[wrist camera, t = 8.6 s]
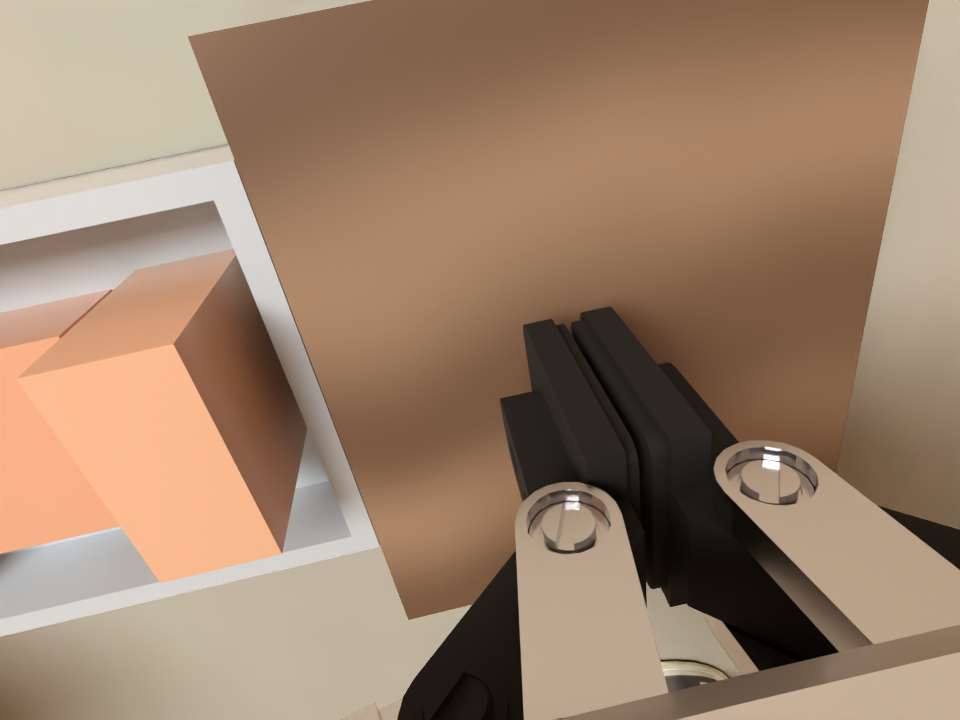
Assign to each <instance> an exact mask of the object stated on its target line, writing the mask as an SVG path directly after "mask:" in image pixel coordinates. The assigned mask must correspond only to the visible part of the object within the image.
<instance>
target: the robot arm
mask: <svg viewBox="0 0 960 720" xmlns="http://www.w3.org/2000/svg"><path fill="white" fill-rule="evenodd" d="M571 331H572V336H571V334H570V332H569V330H568V329H567V327H566V325H565V324H560V325H555V323H554V321H553V320H552V319H548V320H543V321H538V322H534V323H529V324H524V325H523V334H524V341H525V348H526V355H527V361H528V368H529V375H530V382H531V388H532V391H531V392H527V393H522V394H518V395H513V396H508V397H504V398H500V405H501V411H502V417H503V422H504V427H505V433H506V438H507V443H508V447H509V452H510V456H511V460H512V465H513V469H514V473H515V476H516V480H517V484H518V487H519V491H520V495H521V498H522V502H523V503H522V505H521V506H520V508H519V510H518V512H517V515H516V521H515V540H516V550H515V552H514V553H513V554H512V556H511V557H510V558H509V559H508V561H507V562H506V563H505V564H504V566H503V567H502V568H501V569H500V571H499V572H498V573H497V575H496V576H495V577H494V578H493V580H492V581H491V582H490V583H489V585H488V586H487V587H486V588H485V590H484V591H483V592H482V594H481V595H480V596H479V597H478V599H477V600H476V601H475V602H474V604H473V605H472V606H471V608H470V609H469V610H468V611H467V613H466V614H465V615H464V616H463V618H462V619H461V620H460V621H459V623H458V624H457V625H456V627H455V628H454V629H453V630H452V632H451V633H450V634H449V635H448V637H447V638H446V639H445V640H444V642H443V643H442V644H441V646H440V647H439V648H438V649H437V651H436V652H435V653H434V654H433V656H432V657H431V658H430V659H429V661H428V662H427V663H426V665H425V666H424V667H423V668H422V670H421V671H420V672H419V673H418V675H417V676H416V677H415V678H414V680H413V682H412V683H411V685H410V687H409V688H408V690H407V692H406V693H405V695H404V697H403V699H401V700H399V701H397V702H395V703H393V704H391V705H389V706H387V707H385V708H383V709H380V710H378V708H377V706H376V704H375V703H374V704H372V705H370V706H368V707H366V708H364V709H362V710H360V711H358V712H356V713H354V714H352V715H350V716H347V717H345V718H343V719H341V720H960V530H958V529H955V528H951V527H948V526H945V525H941V524H938V523H934V522H931V521H928V520H924V519H921V518H917V517H914V516H911V515H907V514H904V513H900V512H897V511H894V510H890V509H887V508H883V507H880V506H877V505H876V504H874V503H873V502H872V501H870V500H869V499H868V498H867V497H865V496H864V495H863V494H861V493H860V492H859V491H858V490H856V489H855V488H854V487H852V486H851V485H850V484H849V483H847V482H846V481H845V480H843V479H842V478H841V477H840V476H838V475H837V474H836V473H834V472H833V471H832V470H831V469H829V468H828V467H827V466H825V465H824V464H823V463H822V462H820V461H819V460H818V459H816V458H815V457H813V456H812V455H810V454H808V453H807V452H805V451H803V450H802V449H799V448H797V447H794V446H791V445H788V444H786V443H781V442H775V441H769V440H750V441H745V442H741V443H739V442H738V440H737V439H736V438H735V437H734V436H733V435H732V433H731V432H730V431H729V430H728V429H727V427H726V426H725V425H724V424H723V423H722V422H721V420H720V419H719V418H718V417H717V416H716V414H715V413H714V412H713V411H712V410H711V409H710V407H709V406H708V405H707V404H706V403H705V401H704V400H703V399H702V398H701V397H700V395H699V394H698V393H697V392H696V391H695V390H694V388H693V387H692V386H691V385H690V384H689V382H688V381H687V380H686V379H685V378H684V377H683V375H682V374H681V373H680V372H679V371H678V369H677V368H676V367H675V366H674V365H673V364H671V363H669V362H665V363H660V364H657V363H656V362H655V361H654V359H653V358H652V357H651V356H650V354H649V353H648V352H647V351H646V349H645V348H644V347H643V346H642V344H641V343H640V342H639V341H638V339H637V338H636V337H635V336H634V334H633V333H632V332H631V331H630V329H629V328H628V327H627V326H626V324H625V323H624V322H623V321H622V319H621V318H620V317H619V316H618V314H617V313H616V312H615V311H614V309H613V308H612V307H611V306H608V307H604V308H599V309H594V310H590V311H585V312H581V314H580V320H579V321H574V322H572V323H571ZM646 581H647V583H648V585H649V587H650V588H651V589H655V588H660V587H661V589H662V591H663V593H664V595H665V597H666V599H667V601H668V603H669V605H670V607H673V606H677V605H682V604H686V603H687V605H688V606H690V607H692V608H694V609H696V610H698V611H701V612H703V613H705V614H706V619H707V623H708V625H709V627H710V629H711V631H712V633H713V635H714V636H715V638H716V639H717V640H718V642H719V643H720V645H721V646H722V647H723V649H724V650H725V651H726V653H727V654H728V656H729V657H730V658H731V660H732V661H733V663H734V664H735V665H736V667H737V668H738V670H739V671H740V672H741V674H742V675H741V676H737V677H732V678H728V679H724V680H720V681H715V682H711V683H707V684H703V685H699V686H694V687H690V688H686V689H682V690H678V691H674V692H668V688H667V684H666V681H665V677H664V673H663V669H662V665H661V661H660V658H659V654H658V650H657V646H656V642H655V639H654V635H653V631H652V627H651V623H650V620H649V616H648V612H647V600H646Z"/></svg>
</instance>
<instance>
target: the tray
mask: <svg viewBox="0 0 960 720" xmlns="http://www.w3.org/2000/svg"><path fill="white" fill-rule="evenodd" d="M229 249H234V251H235V253H236V256H237V258H238V260H239V263H240V265H241V268H242V270H243V273H244V275H245V278H246V280H247V282H248V285H249V287H250V290H251V292H252V295H253V297H254V299H255V302H256V304H257V307H258V309H259V312H260V314H261V316H262V319H263V321H264V324H265V326H266V329H267V331H268V333H269V336H270V338H271V341H272V343H273V346H274V348H275V351H276V353H277V355H278V358H279V360H280V363H281V365H282V368H283V370H284V372H285V375H286V377H287V380H288V382H289V385H290V387H291V389H292V392H293V394H294V397H295V399H296V402H297V404H298V407H299V409H300V411H301V414H302V416H303V419H304V421H305V424H306V426H307V433H306V438H305V443H304V448H303V453H302V458H301V463H300V468H299V473H298V478H297V483H296V488H295V493H294V498H293V503H292V508H291V513H290V517H289V522H288V527H287V532H286V537H285V542H284V547H283V552H282V554H281V555H277V556H272V557H268V558H264V559H260V560H256V561H252V562H247V563H243V564H239V565H235V566H231V567H226V568H222V569H218V570H214V571H210V572H205V573H201V574H197V575H193V576H189V577H184V578H180V579H176V580H172V581H168V582H163V583H160V582H159V581H158V579H157V578H156V576H155V575H154V573H153V572H152V571H151V569H150V568H149V566H148V565H147V564H146V562H145V561H144V559H143V558H142V556H141V555H140V554H139V552H138V551H137V549H136V548H135V547H134V545H133V544H132V542H131V541H130V539H129V538H128V537H127V535H126V534H125V532H124V531H123V530H122V528H121V527H120V526H119V527H115V528H110V529H106V530H102V531H97V532H93V533H89V534H84V535H80V536H76V537H71V538H67V539H63V540H58V541H54V542H50V543H45V544H41V545H37V546H32V547H28V548H24V549H19V550H15V551H11V552H6V553H2V554H0V637H1V636H5V635H10V634H14V633H18V632H22V631H27V630H31V629H35V628H39V627H43V626H48V625H52V624H56V623H60V622H65V621H69V620H73V619H77V618H81V617H86V616H90V615H94V614H98V613H102V612H107V611H111V610H115V609H119V608H124V607H128V606H132V605H136V604H140V603H145V602H149V601H153V600H157V599H162V598H166V597H170V596H174V595H178V594H183V593H187V592H191V591H195V590H199V589H204V588H208V587H212V586H216V585H221V584H225V583H229V582H233V581H237V580H242V579H246V578H250V577H254V576H258V575H263V574H267V573H271V572H275V571H280V570H284V569H288V568H292V567H296V566H301V565H305V564H309V563H313V562H318V561H322V560H326V559H330V558H334V557H339V556H343V555H347V554H351V553H355V552H360V551H364V550H368V549H372V548H377V547H380V543H379V540H378V538H377V535H376V532H375V530H374V527H373V524H372V522H371V519H370V517H369V514H368V511H367V509H366V506H365V503H364V501H363V498H362V495H361V493H360V490H359V487H358V485H357V482H356V480H355V477H354V474H353V472H352V469H351V466H350V464H349V461H348V458H347V456H346V453H345V450H344V448H343V445H342V443H341V440H340V437H339V435H338V432H337V429H336V427H335V424H334V421H333V419H332V416H331V413H330V411H329V408H328V406H327V403H326V400H325V398H324V395H323V392H322V390H321V387H320V384H319V382H318V379H317V376H316V374H315V371H314V369H313V366H312V363H311V361H310V358H309V355H308V353H307V350H306V347H305V345H304V342H303V339H302V337H301V334H300V331H299V329H298V326H297V324H296V321H295V318H294V316H293V313H292V310H291V308H290V305H289V302H288V300H287V297H286V294H285V292H284V289H283V287H282V284H281V281H280V279H279V276H278V273H277V271H276V268H275V265H274V263H273V260H272V257H271V255H270V252H269V250H268V247H267V244H266V242H265V239H264V236H263V234H262V231H261V228H260V226H259V223H258V220H257V218H256V215H255V213H254V210H253V207H252V205H251V202H250V199H249V197H248V194H247V191H246V189H245V186H244V183H243V181H242V178H241V176H240V173H239V170H238V168H237V165H236V162H235V160H234V157H233V154H232V152H231V149H230V146H229V144H226V145H221V146H216V147H211V148H206V149H201V150H196V151H191V152H186V153H182V154H177V155H172V156H167V157H162V158H157V159H152V160H147V161H143V162H138V163H133V164H128V165H123V166H118V167H113V168H108V169H103V170H99V171H94V172H89V173H84V174H79V175H74V176H69V177H64V178H60V179H55V180H50V181H45V182H40V183H35V184H30V185H25V186H20V187H16V188H11V189H6V190H1V191H0V313H1V312H6V311H11V310H16V309H20V308H25V307H30V306H34V305H39V304H44V303H48V302H53V301H58V300H62V299H67V298H72V297H77V296H81V295H86V294H91V293H95V292H100V291H105V290H109V289H111V290H112V291H113V290H114V289H115V288H116V287H117V286H119V285H120V284H121V283H122V282H123V281H124V280H125V279H126V278H127V277H128V276H130V275H131V274H132V273H133V272H134V271H135V270H136V269H141V268H146V267H150V266H155V265H160V264H164V263H169V262H174V261H178V260H183V259H187V258H192V257H197V256H201V255H206V254H211V253H215V252H220V251H225V250H229Z"/></svg>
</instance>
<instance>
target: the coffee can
mask: <svg viewBox="0 0 960 720" xmlns="http://www.w3.org/2000/svg"><path fill="white" fill-rule="evenodd" d="M661 665H662V669H663V673H664V677H665V681H666V684H667V688H668V692H674V691H678V690H682V689H686V688H690V687H694V686H699V685H703V684H707V683H711V682H715V681H720V680H724V679H728V678H727V676H726V675H724V674H723V673H722V672H720V671H719V670H717V669H715V668H712V667H710V666H707V665H703V664H699V663H696V662H682V661H661Z"/></svg>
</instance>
